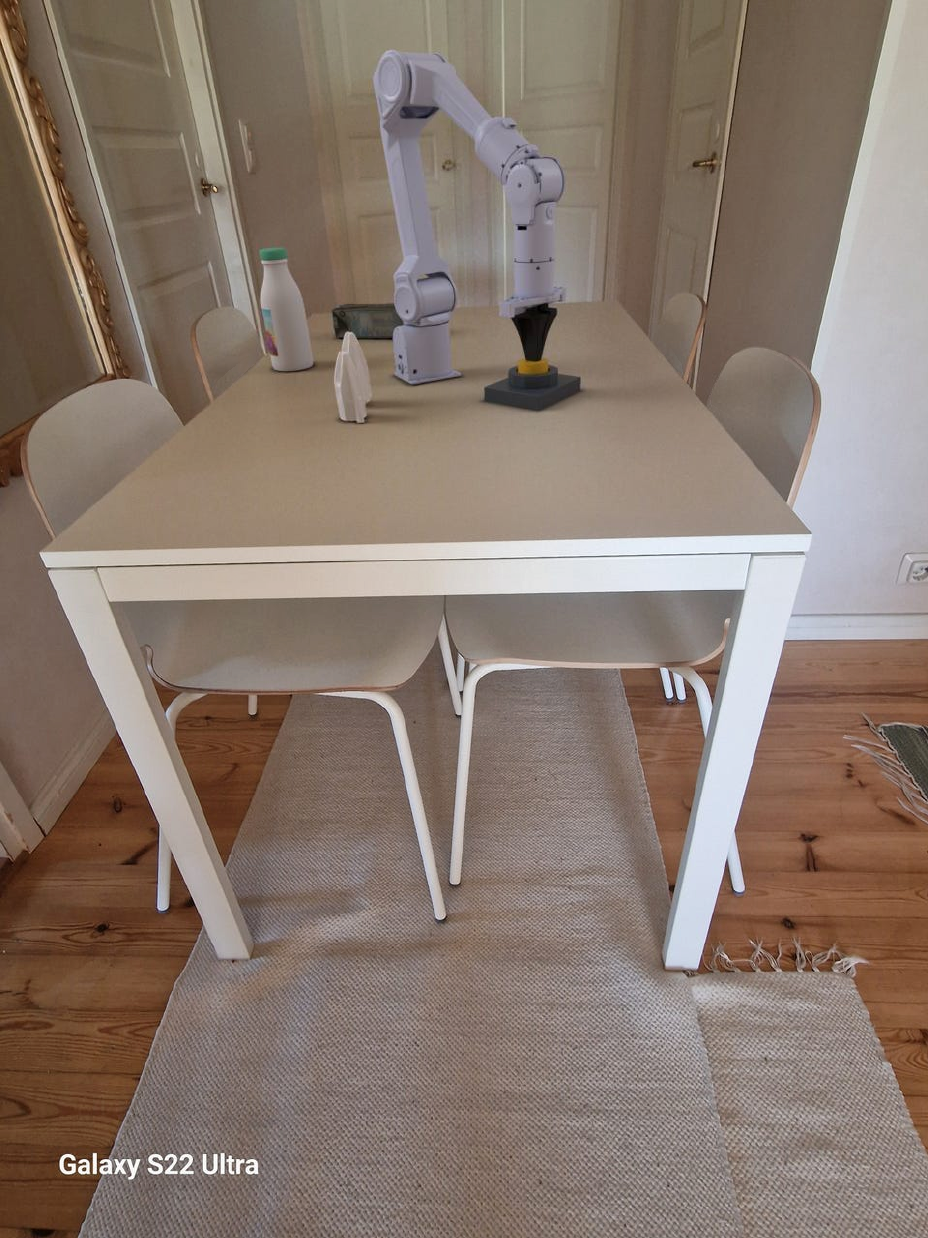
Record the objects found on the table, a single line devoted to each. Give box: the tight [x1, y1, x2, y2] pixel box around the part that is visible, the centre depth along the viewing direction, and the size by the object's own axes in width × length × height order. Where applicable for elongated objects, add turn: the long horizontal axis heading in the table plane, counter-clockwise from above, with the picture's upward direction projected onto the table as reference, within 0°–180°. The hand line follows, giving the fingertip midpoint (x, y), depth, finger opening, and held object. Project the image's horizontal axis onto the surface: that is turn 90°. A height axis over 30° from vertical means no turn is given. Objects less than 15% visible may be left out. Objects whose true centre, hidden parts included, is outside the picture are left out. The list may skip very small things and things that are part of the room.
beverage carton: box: [331, 302, 405, 339], centre depth 149 cm, size 8×19×7 cm, turn 74°
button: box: [517, 356, 549, 374], centre depth 105 cm, size 5×5×2 cm
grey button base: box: [483, 364, 582, 412], centre depth 106 cm, size 12×10×4 cm
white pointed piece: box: [333, 332, 373, 424], centre depth 102 cm, size 12×4×11 cm, turn 179°
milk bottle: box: [258, 247, 314, 372], centre depth 125 cm, size 8×8×20 cm
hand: (533, 360), depth 104 cm, fingers closed, pressing on button
